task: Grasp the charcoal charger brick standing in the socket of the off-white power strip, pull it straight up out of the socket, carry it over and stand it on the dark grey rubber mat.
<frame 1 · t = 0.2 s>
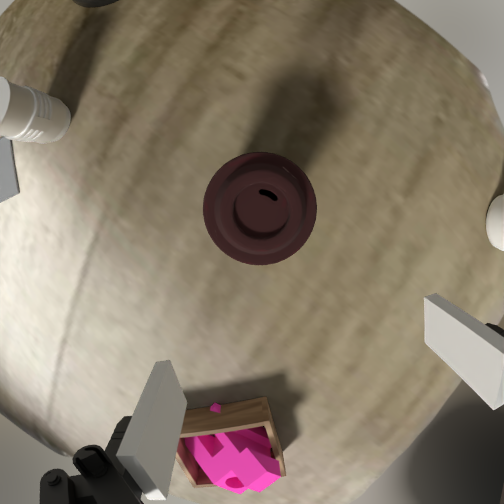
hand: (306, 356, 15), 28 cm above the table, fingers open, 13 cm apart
display box: (228, 435, 49), on the table
grey ribbed canister: (55, 122, 38), on the table
mug: (498, 215, 43), on the table
bracket: (228, 435, 49), resting in display box
coffee cup: (254, 201, 41), on the table
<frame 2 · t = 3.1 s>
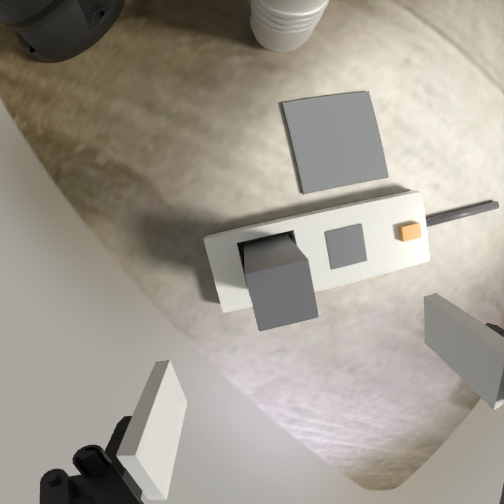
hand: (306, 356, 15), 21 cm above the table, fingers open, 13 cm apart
mat: (337, 140, 33), on the table
grey ribbed canister: (279, 31, 30), on the table
charger: (269, 258, 35), resting in power strip
power strip: (322, 246, 35), on the table
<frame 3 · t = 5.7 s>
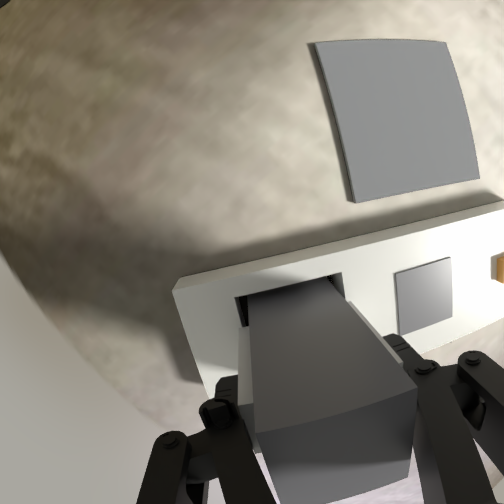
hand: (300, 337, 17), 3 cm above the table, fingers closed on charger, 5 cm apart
mat: (407, 111, 17), on the table
charger: (292, 316, 20), resting in power strip, touching gripper
power strip: (381, 292, 20), on the table
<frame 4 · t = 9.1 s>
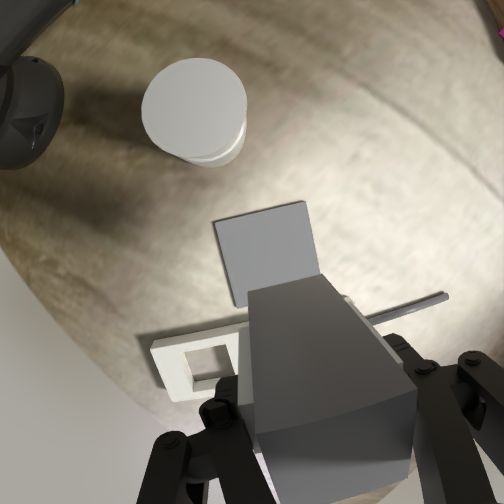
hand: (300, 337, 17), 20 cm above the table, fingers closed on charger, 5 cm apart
mat: (270, 255, 36), on the table
grey ribbed canister: (213, 137, 33), on the table
charger: (292, 317, 20), point 17 cm above the table, touching gripper
power strip: (257, 349, 38), on the table
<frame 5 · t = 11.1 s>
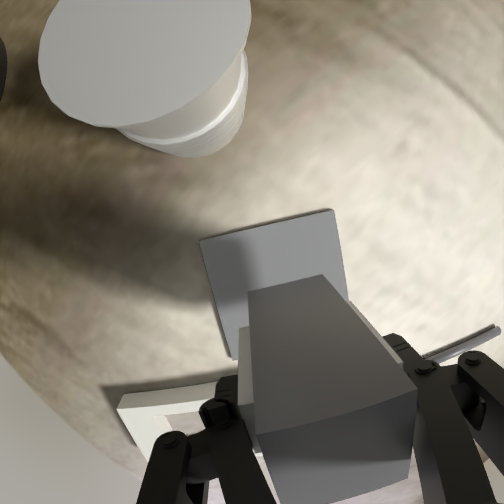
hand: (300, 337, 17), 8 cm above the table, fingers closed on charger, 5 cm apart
mat: (280, 288, 25), on the table
grey ribbed canister: (197, 114, 22), on the table
charger: (292, 317, 20), point 5 cm above the table, touching gripper
power strip: (260, 408, 27), on the table
when the fingers open (4 cm above the table, at t = 12.6 s): charger stays where it is, resting on mat.
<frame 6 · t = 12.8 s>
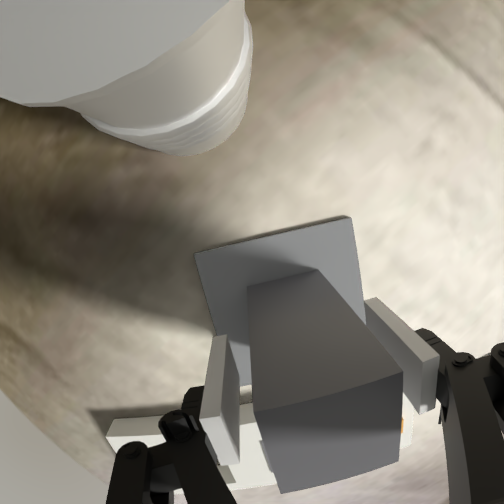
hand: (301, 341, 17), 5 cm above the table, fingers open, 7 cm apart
mat: (289, 308, 21), on the table
grey ribbed canister: (192, 106, 19), on the table
charger: (289, 311, 21), resting on mat
power strip: (264, 436, 23), on the table
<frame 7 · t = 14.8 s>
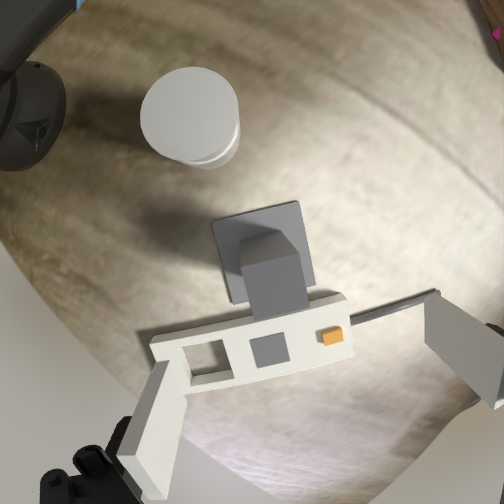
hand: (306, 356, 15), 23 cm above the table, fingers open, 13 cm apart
mat: (265, 253, 37), on the table
grey ribbed canister: (210, 140, 35), on the table
charger: (265, 254, 37), resting on mat
power strip: (253, 344, 40), on the table
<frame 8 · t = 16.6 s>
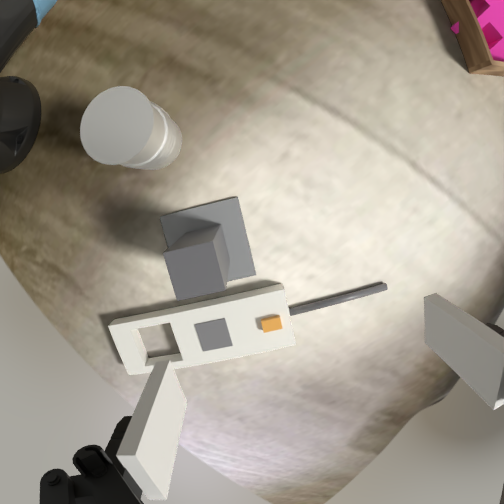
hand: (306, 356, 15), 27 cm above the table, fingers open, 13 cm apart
display box: (481, 33, 35), on the table
mat: (208, 245, 41), on the table
grey ribbed canister: (159, 143, 38), on the table
charger: (207, 246, 40), resting on mat
power strip: (201, 330, 43), on the table
bracket: (481, 33, 35), resting in display box
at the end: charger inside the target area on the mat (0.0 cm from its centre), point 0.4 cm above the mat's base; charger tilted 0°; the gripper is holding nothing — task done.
